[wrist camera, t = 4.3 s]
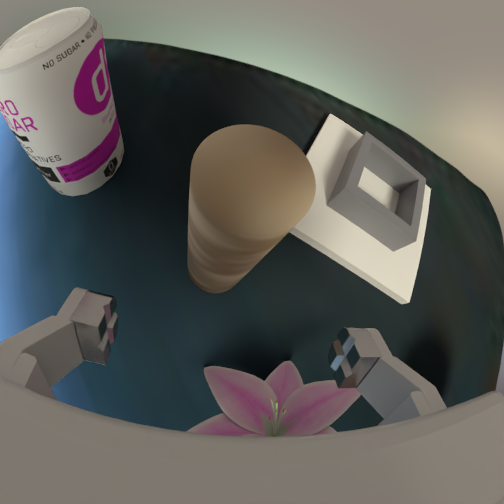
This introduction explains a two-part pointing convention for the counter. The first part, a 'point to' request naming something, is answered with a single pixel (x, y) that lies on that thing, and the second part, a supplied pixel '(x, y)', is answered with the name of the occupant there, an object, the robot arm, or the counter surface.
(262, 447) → the robot arm
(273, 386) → the lily
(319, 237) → the docking plate
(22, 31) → the supplement can
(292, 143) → the beech peg
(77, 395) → the counter surface
